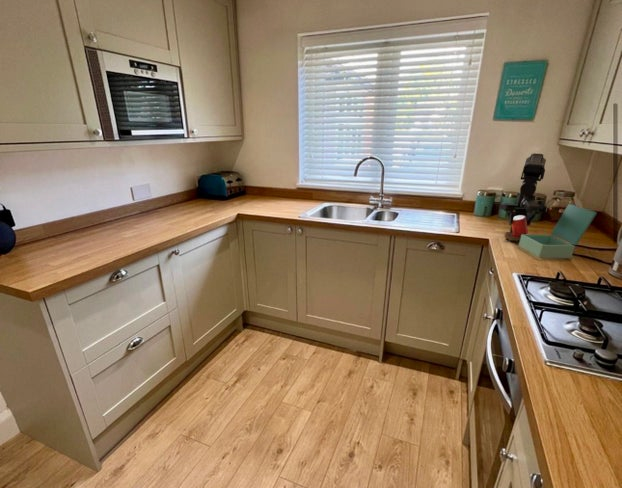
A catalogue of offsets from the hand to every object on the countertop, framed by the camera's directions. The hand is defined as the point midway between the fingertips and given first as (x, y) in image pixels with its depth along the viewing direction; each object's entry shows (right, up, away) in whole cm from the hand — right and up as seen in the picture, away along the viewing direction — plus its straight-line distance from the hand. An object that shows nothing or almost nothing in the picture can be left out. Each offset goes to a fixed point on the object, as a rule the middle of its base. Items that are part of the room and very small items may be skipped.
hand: (518, 225), depth 155 cm
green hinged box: (+5, -13, -10) cm, 17 cm away
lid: (+13, -1, -15) cm, 20 cm away
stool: (0, -8, +3) cm, 9 cm away
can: (+2, -4, +1) cm, 4 cm away
